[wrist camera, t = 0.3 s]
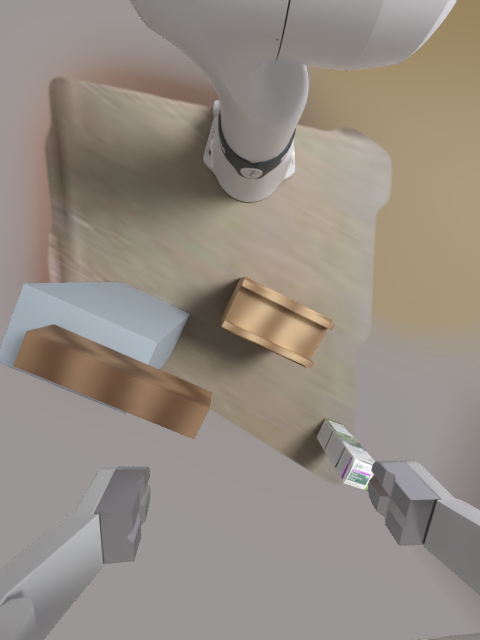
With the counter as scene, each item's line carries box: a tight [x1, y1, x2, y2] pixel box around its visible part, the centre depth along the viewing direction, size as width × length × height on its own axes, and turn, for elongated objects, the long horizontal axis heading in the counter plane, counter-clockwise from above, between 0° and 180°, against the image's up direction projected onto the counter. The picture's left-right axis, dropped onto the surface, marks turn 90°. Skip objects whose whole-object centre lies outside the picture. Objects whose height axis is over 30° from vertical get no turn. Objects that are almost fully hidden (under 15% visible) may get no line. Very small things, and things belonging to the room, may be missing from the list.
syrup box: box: [317, 419, 375, 491], centre depth 54 cm, size 6×6×14 cm
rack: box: [221, 277, 335, 368], centre depth 47 cm, size 16×9×18 cm, turn 64°
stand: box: [0, 282, 190, 414], centre depth 42 cm, size 16×10×26 cm, turn 64°
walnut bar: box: [13, 324, 212, 439], centre depth 28 cm, size 20×4×4 cm, turn 64°
